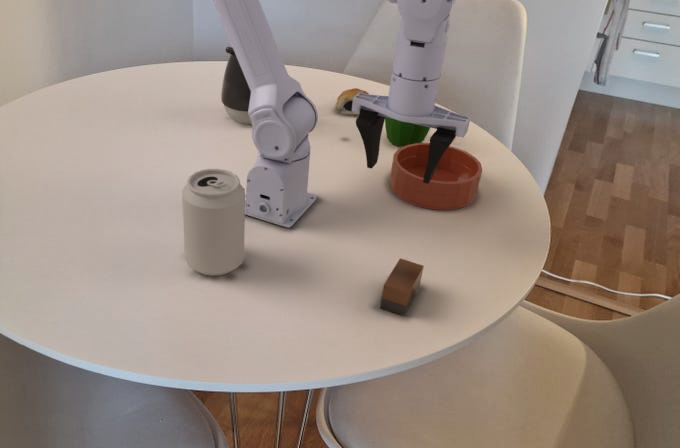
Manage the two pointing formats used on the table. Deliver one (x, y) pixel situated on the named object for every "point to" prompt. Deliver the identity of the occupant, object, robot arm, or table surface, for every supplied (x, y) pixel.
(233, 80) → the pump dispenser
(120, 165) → the table surface
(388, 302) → the eraser
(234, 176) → the can
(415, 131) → the bell pepper
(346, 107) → the pastry
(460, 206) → the bowl
